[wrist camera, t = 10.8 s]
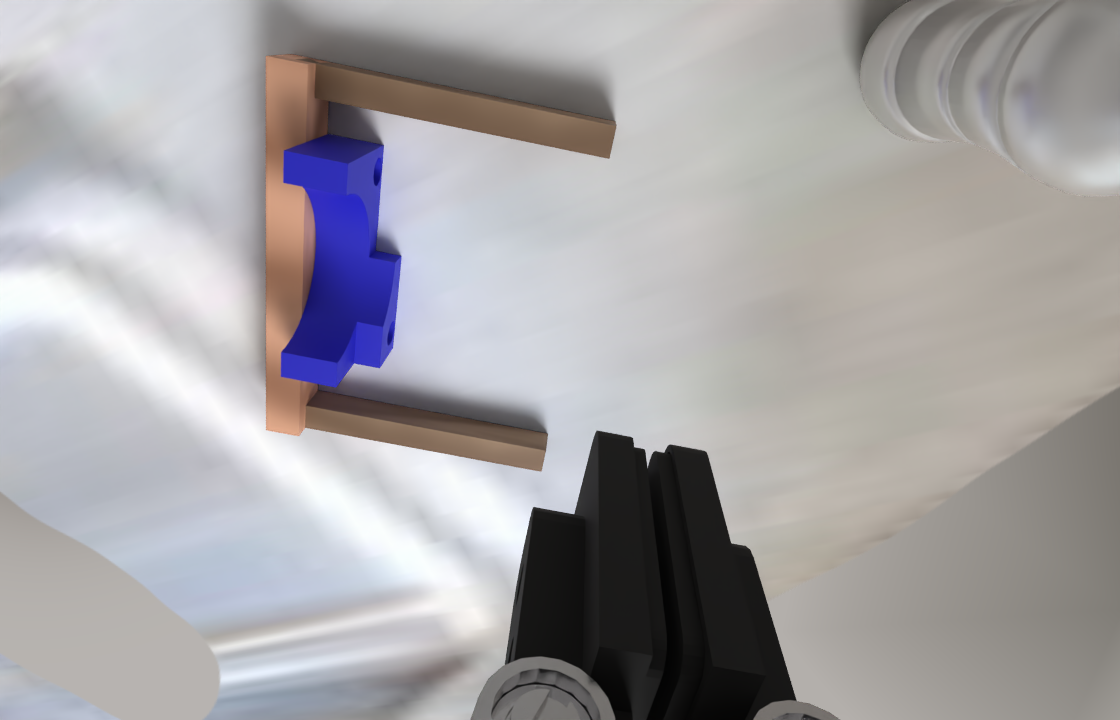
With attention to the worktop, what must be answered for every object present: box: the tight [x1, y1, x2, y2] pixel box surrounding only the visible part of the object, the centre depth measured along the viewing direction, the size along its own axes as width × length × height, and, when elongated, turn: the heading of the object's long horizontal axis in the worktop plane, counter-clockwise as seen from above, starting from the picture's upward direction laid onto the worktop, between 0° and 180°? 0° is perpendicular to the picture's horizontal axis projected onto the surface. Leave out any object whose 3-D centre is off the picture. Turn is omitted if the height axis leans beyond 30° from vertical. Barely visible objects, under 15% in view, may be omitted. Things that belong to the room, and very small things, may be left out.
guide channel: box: [266, 54, 616, 471], centre depth 38 cm, size 21×17×3 cm
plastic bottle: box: [860, 0, 1120, 197], centre depth 25 cm, size 6×7×20 cm
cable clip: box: [281, 134, 401, 387], centre depth 37 cm, size 12×4×6 cm, turn 169°
